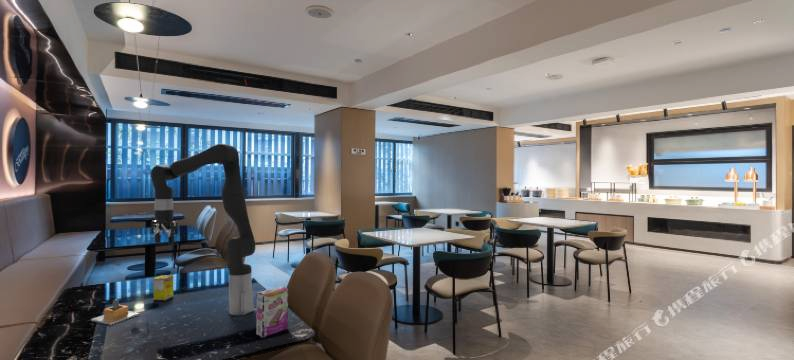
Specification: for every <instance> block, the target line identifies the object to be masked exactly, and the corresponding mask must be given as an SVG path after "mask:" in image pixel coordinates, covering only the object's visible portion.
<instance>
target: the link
mask: <svg viewBox="0 0 794 360" xmlns="http://www.w3.org/2000/svg"><path fill="white" fill-rule="evenodd" d="M128 311H129V306H128V305H123V304H119V309H116V310H113V305H112V306H110V307H106V308H104V309H103V315H104V318H108V319H113V320H114V319H117V318H120V317H123V316H126V315H128Z"/></svg>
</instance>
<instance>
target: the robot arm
mask: <svg viewBox="0 0 794 360" xmlns="http://www.w3.org/2000/svg"><path fill="white" fill-rule="evenodd" d="M214 164H219V165H222V167H223V170H224V183H223V186H222V189H221V200H222V206H223V209H224V212H225V213H226V214H227V216H228V217H229V218H230V219H231V220H232V221H233V223H234V224H235V226H236V228H237V231H238V233H239V234H238V236H235V237H231V238H229V239H228V241H227V243H226V250H225V251H226V266H227V270H228V313H229V315H231V316H245V315H247V314H249V313H252V312H253V311H255V309H254V289H252V286H253V285H252V270H253V269H252V266H251V264H247V263H243V258H245V257H249V256H253V254H254V253H255V251H256V241H255V237H254V234H253V233H254V232H253V229H252V226H251V222H250V219H249V214H248V209H247V205H246V203H247V202H246V198H245V196H246V195H245V192H244V188H243V182H242V177H241V167H240V165H241V163H240V155H239V151H238V150H237V148H236V146H235V147H234V146H233V145H230V144H226V143H217V144H214V145H212V146H210V147H208V148H206V149H205V150H203V151H200V152H199V153H196V154H194V155H191V156H189V157H186V158H185V157H184V158H181V159H179V160H175V161H173V162H172V163H171V164H169V165H161V164H160V165H154V166H153V167H152V169H151V171H150V179H151V182H152V186H153V189H154V207H153V209H154V220H151V222H150V223H151V224H150V234H153V236H154V242H155V244H160V243H162V242H161V239H162V238H161V233H162V232H165V233H166V234H167V236H168V238H167V239H168V243H167V244H168V245H174V243H175V236H176V235H179V234H178V231H179V230H178V221H172V220H173V219H174V199H173V198H174V197H173V196H174V194H173V188H172V186H170V185H168V184H167V182H168V181H173V180H176V179H178V178H180V177H181V176H185V175H189V174H190V173H191V174H192V173H194V172H197V171H198V170H199V169H201V168H202V167H204V166H208V165H214Z"/></svg>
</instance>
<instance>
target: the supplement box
mask: <svg viewBox="0 0 794 360" xmlns="http://www.w3.org/2000/svg"><path fill="white" fill-rule="evenodd" d="M152 279H153V302H167V301H169V300H171V299H172V298H173V299H174V275H167V274H166V275H159V276H156V277H154V278H152Z"/></svg>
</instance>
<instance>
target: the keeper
mask: <svg viewBox="0 0 794 360" xmlns="http://www.w3.org/2000/svg"><path fill="white" fill-rule="evenodd" d="M119 305H120V302H119V299H114V300H113V301H112V306H113V310H116V309H119ZM138 315H139V316H141V313H140V312H136V311H132V310H128V315H126V316H123V317H120V318H117V319H114V320H113V319H108V318H104V314H102V315H99V316H97V317H93V318H91V319H90V321H91V322H94V323H98V324H103V325H107V324H108V325H107V326H113V325H116V324H118V322H119V323H121V321H122V322H124V321H127V320H129V318H130V319H133V318H136V317H138ZM135 316H136V317H135ZM132 317H133V318H132ZM126 319H127V320H126ZM115 323H116V324H115ZM112 324H113V325H112Z"/></svg>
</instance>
